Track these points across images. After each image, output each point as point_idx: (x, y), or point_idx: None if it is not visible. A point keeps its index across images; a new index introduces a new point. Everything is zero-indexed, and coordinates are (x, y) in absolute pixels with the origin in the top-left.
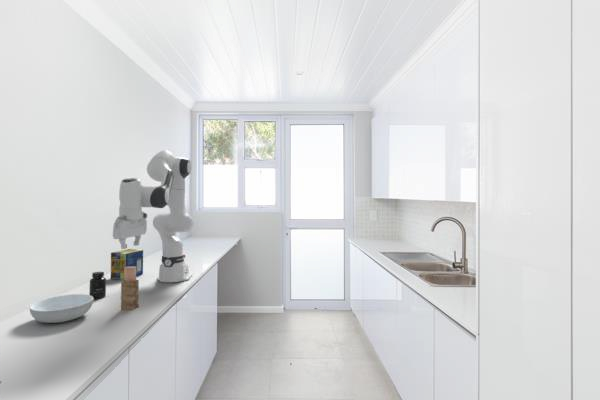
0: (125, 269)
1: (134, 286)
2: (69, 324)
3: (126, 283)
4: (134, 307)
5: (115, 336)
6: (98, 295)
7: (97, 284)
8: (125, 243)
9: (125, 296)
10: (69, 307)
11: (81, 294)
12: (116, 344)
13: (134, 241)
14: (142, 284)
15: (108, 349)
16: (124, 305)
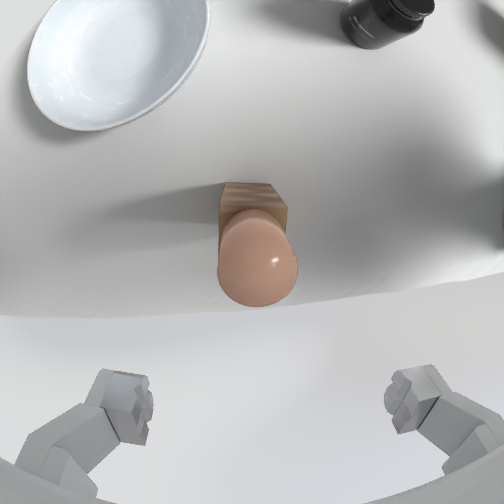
0: (221, 253)
1: None
2: None
3: (219, 233)
4: None
5: (49, 284)
6: (350, 32)
7: (366, 14)
8: (103, 452)
9: None
10: (185, 16)
11: (206, 22)
12: (28, 304)
13: (430, 400)
14: (497, 132)
15: (13, 300)
16: None
